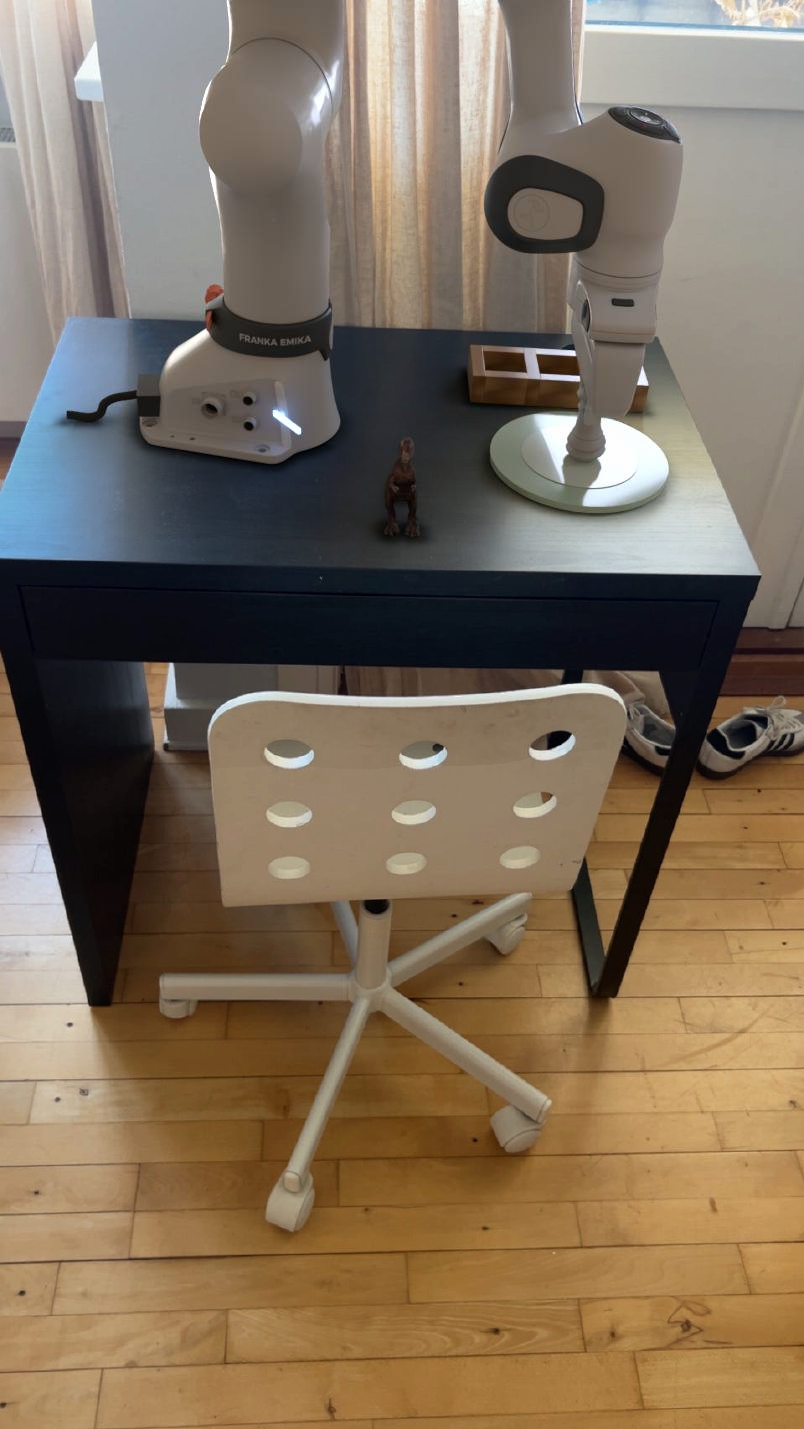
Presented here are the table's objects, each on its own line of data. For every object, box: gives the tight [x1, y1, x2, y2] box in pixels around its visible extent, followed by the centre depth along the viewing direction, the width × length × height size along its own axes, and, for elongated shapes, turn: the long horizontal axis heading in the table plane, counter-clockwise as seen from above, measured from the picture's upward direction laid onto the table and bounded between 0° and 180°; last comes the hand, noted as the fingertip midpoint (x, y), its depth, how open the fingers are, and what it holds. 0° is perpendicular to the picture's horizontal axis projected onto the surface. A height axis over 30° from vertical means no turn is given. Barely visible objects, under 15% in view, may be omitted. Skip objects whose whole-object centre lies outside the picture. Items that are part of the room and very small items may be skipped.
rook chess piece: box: [565, 383, 606, 460], centre depth 126 cm, size 4×4×8 cm
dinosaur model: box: [383, 437, 421, 538], centre depth 117 cm, size 4×12×15 cm
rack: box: [466, 344, 650, 413], centre depth 141 cm, size 21×8×4 cm, turn 91°
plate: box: [488, 410, 670, 514], centre depth 130 cm, size 20×20×1 cm
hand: (588, 413), depth 126 cm, fingers closed on rook chess piece, 3 cm apart
